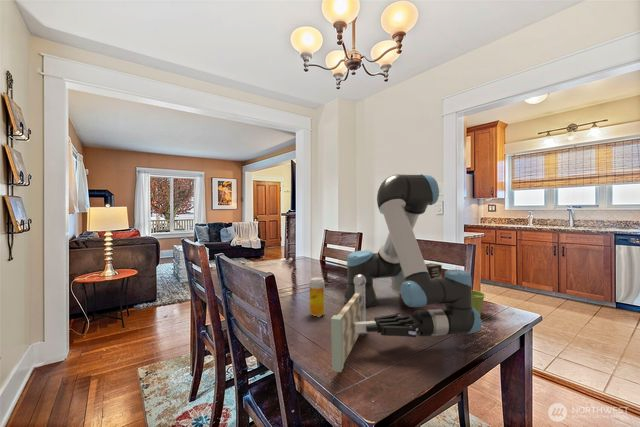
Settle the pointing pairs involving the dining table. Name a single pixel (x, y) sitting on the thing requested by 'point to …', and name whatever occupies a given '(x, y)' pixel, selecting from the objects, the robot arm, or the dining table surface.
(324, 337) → the dining table surface
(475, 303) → the plant pot
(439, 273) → the coffee box
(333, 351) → the gate panel
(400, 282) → the glass holder
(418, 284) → the robot arm
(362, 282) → the gate post
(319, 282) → the orange and white cylinder
